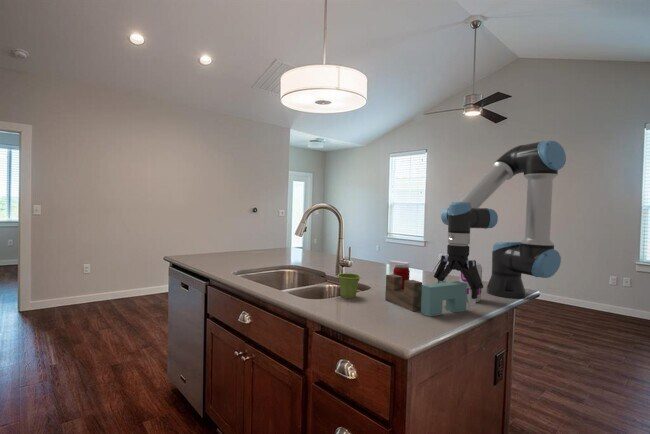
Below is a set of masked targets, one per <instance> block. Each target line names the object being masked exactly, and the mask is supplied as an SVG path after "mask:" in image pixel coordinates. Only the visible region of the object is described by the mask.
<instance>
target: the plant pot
mask: <svg viewBox="0 0 650 434" xmlns="http://www.w3.org/2000/svg"><path fill="white" fill-rule="evenodd" d="M361 276H362V275H361V274H356V273H351V272H350V273H349V272H348V273H347V272H346V273H339V274H337V277H338V280H339V288H340V297H342V298H343V299H345V298H346V299H351V298H353V299H354V298H356V297H357V290H358V285H359V281H360V278H361Z"/></svg>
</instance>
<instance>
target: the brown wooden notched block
mask: <svg viewBox="0 0 650 434" xmlns="http://www.w3.org/2000/svg"><path fill="white" fill-rule="evenodd" d="M422 285H423V282H422V281H419V280H416V279H415V280H414V279H409V280H405V281H404V290H402V276H398V275H395V274H392V275H389V274H386V275H385V297H384V298H385V301H387V302H389V303H392V304H394V305H396V306H399V307H401V308H404V309H406V310H409V311H411V312H417V311H421V297H422Z"/></svg>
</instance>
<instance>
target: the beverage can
mask: <svg viewBox="0 0 650 434" xmlns="http://www.w3.org/2000/svg"><path fill="white" fill-rule="evenodd" d="M393 274H395V275H398V276H402V290H404V281H405V280H410V274H411V273H410V267H409V268H408V266H404V265H396V266H395V268H394V270H393Z"/></svg>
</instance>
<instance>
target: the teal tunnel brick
mask: <svg viewBox="0 0 650 434" xmlns="http://www.w3.org/2000/svg"><path fill="white" fill-rule="evenodd" d="M443 301H445V310H446V311H449V312H452V313H460V312H466V311H467V283H464V282H460V280H459V281H458V280H457V281H449V282H447V281H446V283H438V282H437V283H430V284H429V283H428V284H422V297H421V310H420V314H421V315H424V316H426V317H435V316H442V315H443Z"/></svg>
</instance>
